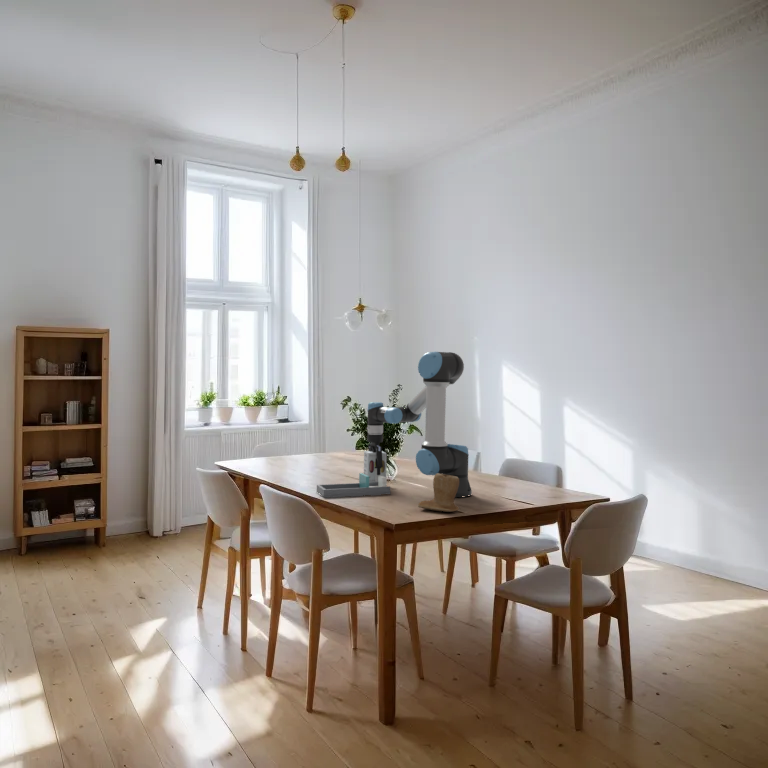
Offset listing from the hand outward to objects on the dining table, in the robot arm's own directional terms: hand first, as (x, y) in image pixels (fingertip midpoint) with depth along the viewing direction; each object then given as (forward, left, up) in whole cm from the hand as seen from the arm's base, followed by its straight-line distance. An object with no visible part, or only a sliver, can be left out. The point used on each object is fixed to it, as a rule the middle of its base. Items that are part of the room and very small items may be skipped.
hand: (374, 479), depth 331 cm
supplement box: (0, 0, -3) cm, 3 cm away
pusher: (-16, +6, -2) cm, 17 cm away
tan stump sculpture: (-62, -8, -3) cm, 63 cm away
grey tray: (-16, +16, -3) cm, 23 cm away
